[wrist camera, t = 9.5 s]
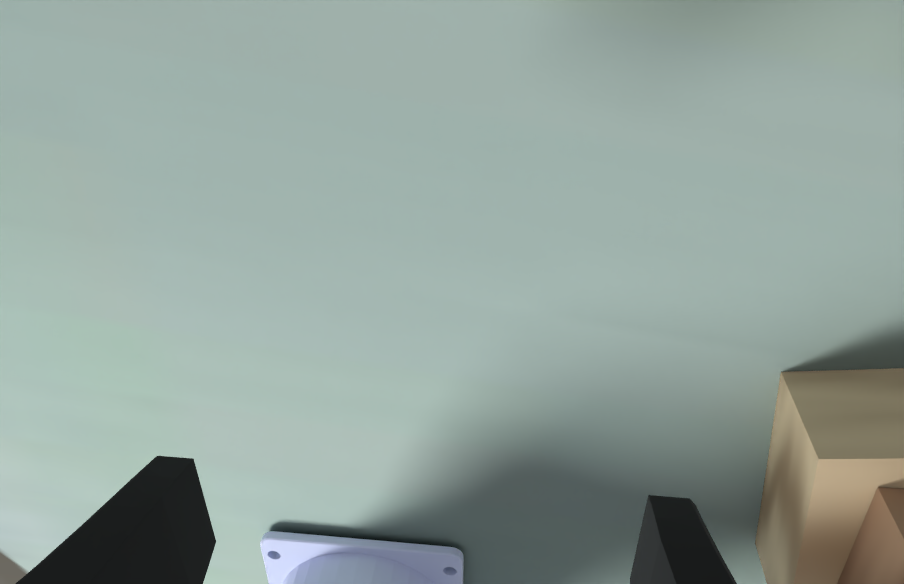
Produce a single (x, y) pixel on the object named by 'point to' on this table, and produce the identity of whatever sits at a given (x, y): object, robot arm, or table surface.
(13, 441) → the table surface
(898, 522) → the walnut cube
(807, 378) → the oak block
